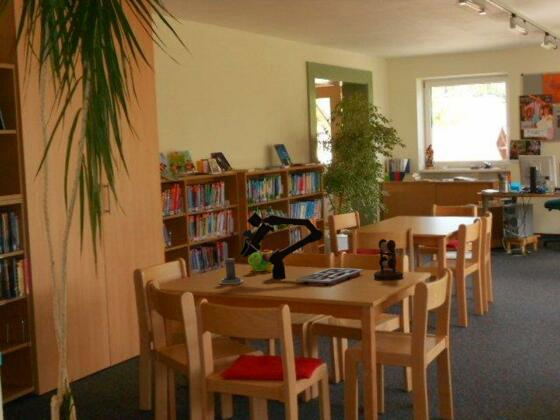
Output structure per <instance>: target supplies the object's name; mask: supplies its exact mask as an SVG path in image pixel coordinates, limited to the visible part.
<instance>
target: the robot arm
mask: <svg viewBox="0 0 560 420" xmlns="http://www.w3.org/2000/svg"><path fill="white" fill-rule="evenodd" d="M246 222H247V223H248V224H249V225H250V226H252V227H253V228H254V229H255V228H256V230H254V231H253V232H252V230H250V229H247V230H246V229H243V230H242V232H241V234H240V235H241V236H243V237H244V239H243V247H242V249H241V251H240V253H239V255H240V256H242V257H243V258H247V257H248V256H251V255H252V254H253V253H258V251H260V250H261V248H262V246H261V245H260V243H261V242H262V241H264V240H265V238H266V236H267V235H268V234H269V233H270V232H271V233H274V232H275V229H274V228H275V227H274V226H281V225H285V226H286V225H288V226H303V227H306V229H307V230H308V232H309V233H307V234H306V236H304V237H302V238H301V239H299V240H297V241H296V242H293V243H292V244H290V245H289V246H287V247H285V248H284V249H279V248H276V249H275V250H274V251H271V252H272V254H270V257H269V260H270V263H271V264H273V265H274V266H273V269H272V272H271V273H272V275H271V276H272V278H273V280H275V279H285V278H287V276H286V266H285V262H284V261H285V260H284V259H286V257H287V256H289V255H291V254H293V253H294V252H296V251H298V250H300V249H301V248H303V247H305V246H306V245H308V244H311V243H314V242H317V241H321V240H322V239H323V237H324V236H323V235H324V233H323V231H322V230H321V229H320V228H317V227H316V226H315V225H314V224H313V223H312V222H311V219H309V218H299V217H289V216H288V217H287V216H286V217H285V216H282V215H278V214H269V215H268V216H267V217H261V216H260V215H259V214H258V213H257V212H255V211H254V212H253V213H252V215H250V217H248V219H246ZM272 226H273V227H272Z"/></svg>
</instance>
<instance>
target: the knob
mask: <svg viewBox="0 0 560 420" xmlns="http://www.w3.org/2000/svg"><path fill="white" fill-rule="evenodd" d="M224 263H225V273H226V275H225V276H226V277H227V280H234V279H236V277H237V276H236V266H235V265H236V264H235V263H236V259H235V258H231V257H230V258H225V259H224ZM226 277H225V278H226Z"/></svg>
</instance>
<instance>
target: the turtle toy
mask: <svg viewBox="0 0 560 420" xmlns="http://www.w3.org/2000/svg"><path fill="white" fill-rule="evenodd" d="M272 252H273V251H271V250H270V249H263V250H262V251H260V253H258V252H254V253H252V254H250V255H249V257H248V258H247V262H248V264H249V269H250V271H252V272H266V271H267V273H272V269H273V266H274V265H273V264H271V263H270V260H269V257H270V254H272Z"/></svg>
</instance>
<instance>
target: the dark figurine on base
mask: <svg viewBox="0 0 560 420" xmlns="http://www.w3.org/2000/svg"><path fill="white" fill-rule="evenodd" d="M378 248H379V253H378V254H379V255H380V258H379V266H380V270H377V271H375V272H374V273H373V277H374V279H377V278H383V279H386V281H389V279H390V278H399V277H400V278H401V279H402V278H403V275H404V272H403V271H401V270H399V269H397V268H396V267H397V256H396V250H395V249H396V241H395V240H393V239H389V240H388V241H387V240H386V239H385V238H381V239H380V240H379V241H378ZM386 256H387V257H386Z"/></svg>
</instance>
